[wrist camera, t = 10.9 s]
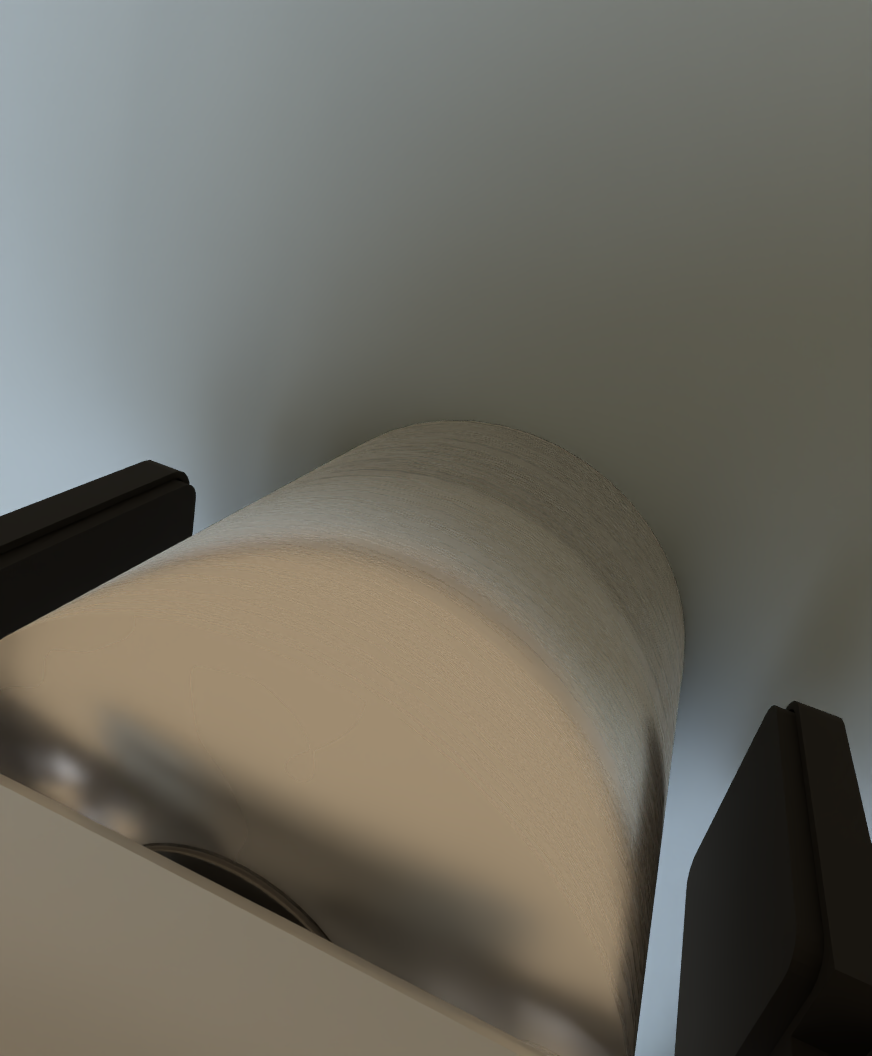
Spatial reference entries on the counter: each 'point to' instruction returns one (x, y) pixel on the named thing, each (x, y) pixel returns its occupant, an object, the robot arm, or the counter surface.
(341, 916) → the silver rounded piece
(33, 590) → the robot arm
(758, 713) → the counter surface
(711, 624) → the counter surface
